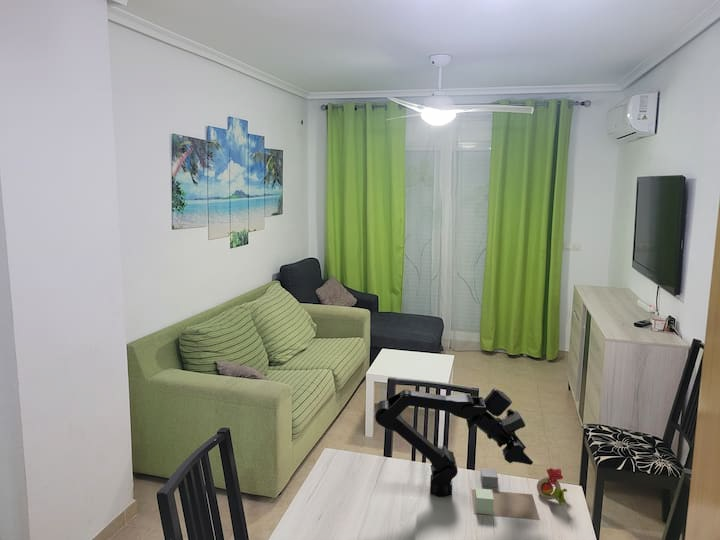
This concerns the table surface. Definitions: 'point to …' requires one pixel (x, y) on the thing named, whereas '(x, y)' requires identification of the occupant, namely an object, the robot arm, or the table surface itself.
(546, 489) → the bird rattle
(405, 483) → the table surface
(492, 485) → the grey block
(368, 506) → the table surface
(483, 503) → the sage block
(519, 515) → the walnut board
